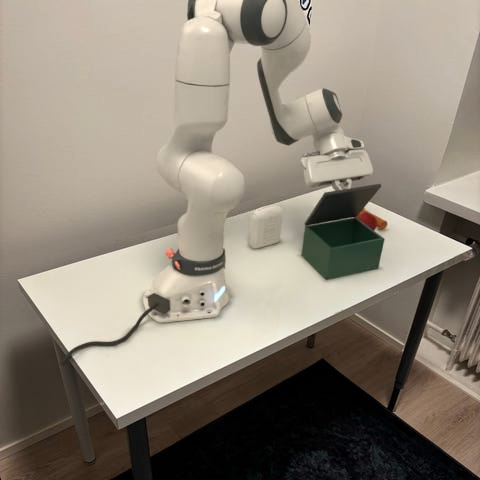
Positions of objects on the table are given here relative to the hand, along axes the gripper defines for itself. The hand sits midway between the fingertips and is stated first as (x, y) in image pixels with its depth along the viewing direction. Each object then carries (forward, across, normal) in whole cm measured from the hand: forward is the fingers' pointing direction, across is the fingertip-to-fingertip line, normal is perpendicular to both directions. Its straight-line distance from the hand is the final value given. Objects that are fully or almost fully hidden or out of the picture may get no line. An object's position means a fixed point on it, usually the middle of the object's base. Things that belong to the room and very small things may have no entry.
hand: (345, 196), depth 139 cm
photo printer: (+3, -16, +26) cm, 30 cm away
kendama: (0, +24, +29) cm, 37 cm away
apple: (+7, +16, +21) cm, 28 cm away
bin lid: (+2, 0, +3) cm, 3 cm away
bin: (+15, 0, +13) cm, 20 cm away
